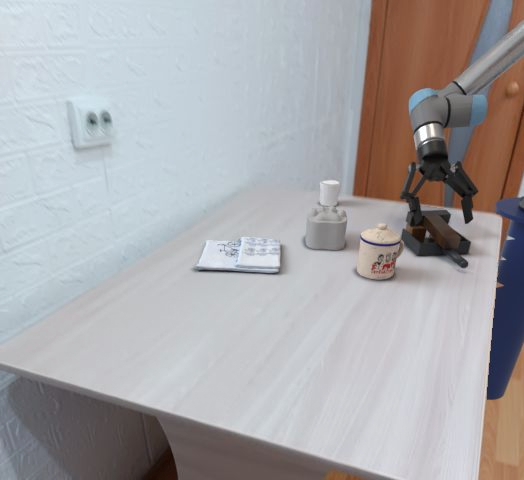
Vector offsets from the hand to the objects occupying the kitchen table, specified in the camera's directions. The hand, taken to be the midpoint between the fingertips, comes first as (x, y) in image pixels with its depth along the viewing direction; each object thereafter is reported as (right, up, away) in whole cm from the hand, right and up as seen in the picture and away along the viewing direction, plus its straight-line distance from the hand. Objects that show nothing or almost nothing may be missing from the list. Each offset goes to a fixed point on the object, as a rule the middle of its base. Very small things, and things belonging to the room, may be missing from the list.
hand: (444, 222), depth 121 cm
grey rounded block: (-29, -3, +9) cm, 31 cm away
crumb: (+2, +1, +10) cm, 11 cm away
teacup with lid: (-18, -14, -8) cm, 24 cm away
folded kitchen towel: (-52, -9, -2) cm, 53 cm away
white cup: (-24, +16, +37) cm, 47 cm away
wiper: (-2, +4, +9) cm, 10 cm away
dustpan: (0, -8, +2) cm, 8 cm away
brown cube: (-5, 0, +10) cm, 11 cm away
